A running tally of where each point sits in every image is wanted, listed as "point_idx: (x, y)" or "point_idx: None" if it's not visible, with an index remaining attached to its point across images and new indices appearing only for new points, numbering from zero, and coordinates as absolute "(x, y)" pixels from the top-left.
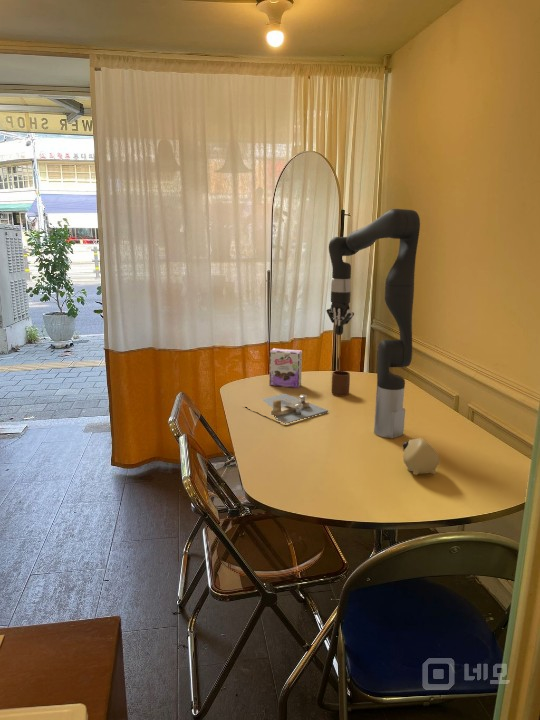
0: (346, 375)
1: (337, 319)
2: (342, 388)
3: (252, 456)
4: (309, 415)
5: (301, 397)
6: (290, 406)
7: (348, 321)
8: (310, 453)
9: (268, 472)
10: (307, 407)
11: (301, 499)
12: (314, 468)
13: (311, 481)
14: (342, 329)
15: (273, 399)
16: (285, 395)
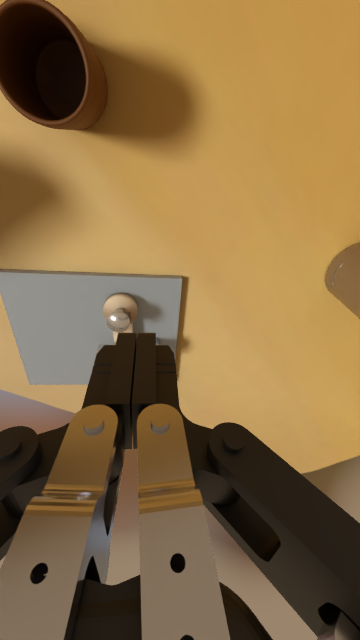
0: (91, 82)
1: (110, 532)
2: (98, 112)
3: None
4: (175, 331)
5: (123, 330)
6: None
7: (285, 474)
8: (271, 407)
9: None
10: (137, 307)
11: (317, 457)
12: (297, 424)
13: (309, 439)
14: (176, 384)
15: (31, 324)
16: (14, 281)
